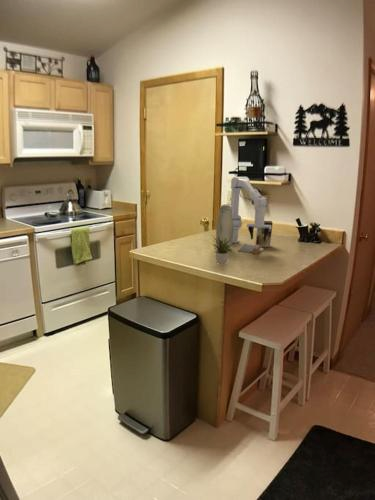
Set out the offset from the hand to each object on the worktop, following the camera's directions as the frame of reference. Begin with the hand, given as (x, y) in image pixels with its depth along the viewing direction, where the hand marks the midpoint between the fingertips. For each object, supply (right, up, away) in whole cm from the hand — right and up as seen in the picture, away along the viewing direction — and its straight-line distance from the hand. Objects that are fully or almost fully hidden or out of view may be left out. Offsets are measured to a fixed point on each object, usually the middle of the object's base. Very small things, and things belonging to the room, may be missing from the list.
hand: (258, 239), depth 244 cm
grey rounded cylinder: (-20, -6, +5) cm, 22 cm away
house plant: (-26, -14, -24) cm, 38 cm away
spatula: (0, -7, +2) cm, 8 cm away
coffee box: (+5, -4, +16) cm, 17 cm away
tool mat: (-5, -5, +8) cm, 11 cm away
